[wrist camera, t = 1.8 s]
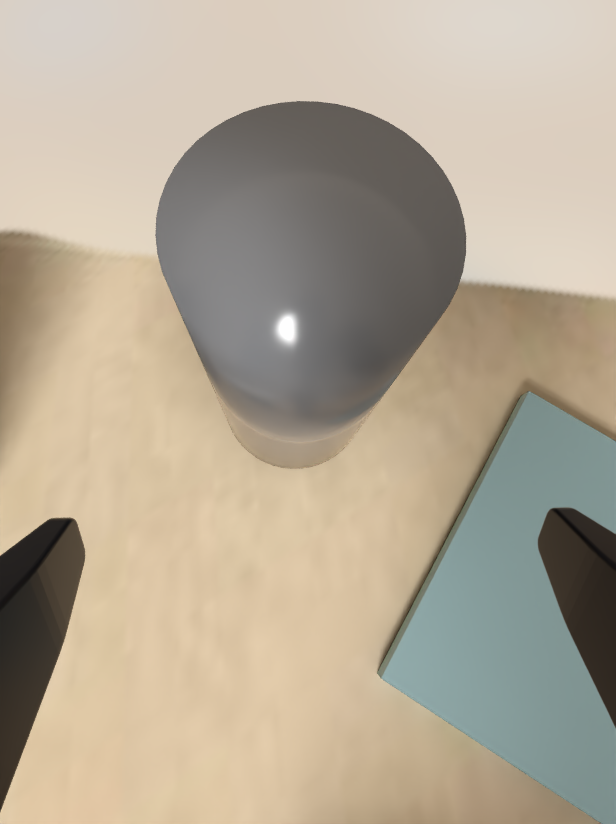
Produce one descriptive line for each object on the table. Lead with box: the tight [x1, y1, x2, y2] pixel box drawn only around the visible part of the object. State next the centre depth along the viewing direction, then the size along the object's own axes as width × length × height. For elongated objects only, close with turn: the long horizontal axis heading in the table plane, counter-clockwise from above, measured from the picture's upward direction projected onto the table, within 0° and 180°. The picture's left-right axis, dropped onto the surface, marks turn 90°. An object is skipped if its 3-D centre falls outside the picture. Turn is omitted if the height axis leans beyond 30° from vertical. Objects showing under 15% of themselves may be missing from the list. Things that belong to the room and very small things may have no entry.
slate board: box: [377, 391, 616, 824], centre depth 21 cm, size 14×12×1 cm
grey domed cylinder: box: [156, 101, 466, 469], centre depth 16 cm, size 6×6×13 cm
